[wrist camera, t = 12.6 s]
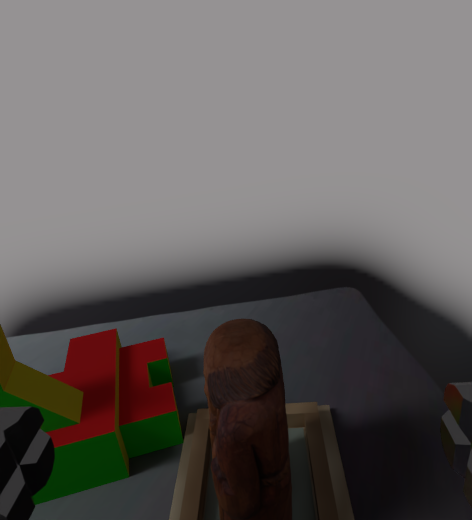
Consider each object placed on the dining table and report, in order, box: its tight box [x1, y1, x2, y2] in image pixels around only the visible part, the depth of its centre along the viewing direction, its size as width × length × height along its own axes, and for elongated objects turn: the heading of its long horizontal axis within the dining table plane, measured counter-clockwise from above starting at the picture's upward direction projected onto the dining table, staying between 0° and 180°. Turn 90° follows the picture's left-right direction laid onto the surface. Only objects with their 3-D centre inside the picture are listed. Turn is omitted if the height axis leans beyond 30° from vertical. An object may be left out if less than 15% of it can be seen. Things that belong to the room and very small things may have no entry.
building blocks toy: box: [0, 325, 184, 505], centre depth 46 cm, size 19×25×18 cm
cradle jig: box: [169, 402, 354, 520], centre depth 38 cm, size 16×22×3 cm
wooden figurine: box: [203, 319, 292, 520], centre depth 34 cm, size 12×6×18 cm, turn 0°
